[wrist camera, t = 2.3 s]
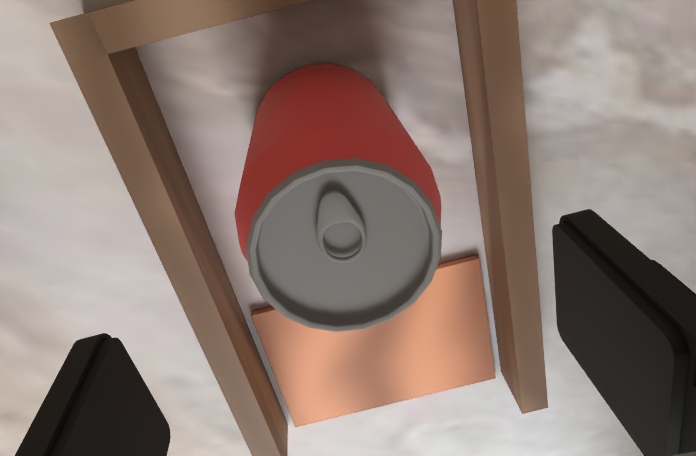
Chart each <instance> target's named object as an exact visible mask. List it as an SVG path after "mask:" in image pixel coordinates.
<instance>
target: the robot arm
mask: <svg viewBox="0 0 696 456" xmlns="http://www.w3.org/2000/svg"><path fill="white" fill-rule="evenodd" d="M552 235H553V255H554V275H555V295H556V314H557V327H558V331H559V334H560V336H561V338H562V340H563V342H564V343H565V345H566V346H567V347H568V349H569V350H570V352H571V353H572V355H573V356H574V357H575V359H576V360H577V362H578V363H579V364H580V366H581V367H582V369H583V370H584V371H585V373H586V374H587V376H588V377H589V379H590V380H591V381H592V383H593V384H594V386H595V387H596V388H597V390H598V391H599V393H600V394H601V395H602V397H603V398H604V400H605V401H606V403H607V404H608V405H609V407H610V408H611V410H612V411H613V412H614V414H615V415H616V417H617V418H618V419H619V421H620V422H621V424H622V425H623V426H624V428H625V429H626V431H627V432H628V434H629V435H630V436H631V438H632V439H633V441H634V442H635V443H636V445H637V446H638V448H639V449H640V450H641V452H642V453H643V455H644V456H696V294H695V293H694V292H693V291H691V290H690V289H689V288H688V287H687V286H685V285H684V284H683V283H682V282H681V281H680V280H678V279H677V278H676V277H675V276H674V275H672V274H671V273H670V272H669V271H668V270H666V269H665V268H664V267H663V266H662V265H661V264H659V263H657V262H656V261H654V260H650V259H649V258H648V257H647V256H646V255H644V254H643V253H642V252H641V251H640V250H638V249H637V248H636V247H635V246H634V245H633V244H631V243H630V242H629V241H628V240H627V239H626V238H624V237H623V236H622V235H621V234H620V233H619V232H617V231H616V230H615V229H614V228H613V227H611V226H610V225H609V224H608V223H607V222H606V221H604V220H603V219H602V218H601V217H600V216H599V215H597V214H596V213H595V212H594V211H592V210H591V209H587V210H583V211H579V212H576V213H572V214H568V215H564V216H562V217H561V218H560V221H559V224H557V225H554V226H553V229H552ZM169 443H170V428H169V425H168V423H167V421H166V419H165V417H164V415H163V414H162V412H161V410H160V408H159V407H158V405H157V403H156V401H155V400H154V398H153V396H152V394H151V393H150V391H149V389H148V387H147V386H146V384H145V382H144V381H143V379H142V377H141V375H140V374H139V372H138V370H137V368H136V367H135V365H134V363H133V361H132V360H131V358H130V356H129V354H128V353H127V351H126V349H125V347H124V346H123V344H122V342H121V341H120V340H119V339H118V338H111V336H110V335H108V334H105V333H103V334H99V335H95V336H91V337H87V338H84V339H80V340H77V341H76V342H75V343H74V345H73V347H72V349H71V350H70V352H69V354H68V356H67V358H66V360H65V362H64V364H63V366H62V367H61V369H60V371H59V373H58V375H57V377H56V379H55V381H54V383H53V384H52V386H51V388H50V390H49V392H48V394H47V396H46V398H45V400H44V401H43V403H42V405H41V407H40V409H39V411H38V413H37V415H36V417H35V418H34V420H33V422H32V424H31V426H30V428H29V430H28V432H27V434H26V436H25V437H24V439H23V441H22V443H21V445H20V447H19V449H18V451H17V453H16V454H15V456H167V451H168V447H169Z"/></svg>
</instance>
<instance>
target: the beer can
mask: <svg viewBox="0 0 696 456" xmlns="http://www.w3.org/2000/svg"><path fill="white" fill-rule="evenodd" d="M235 219H236V225H237V231H238V238H239V243H240V247H241V250H242V253H243V255H244V257H245V259H246V260H247V262H248V265H249V272H250V276H251V277H252V279H253V281H254V283H255V285H256V286H257V288H258V290H259V292H260V294H261V295H262V297H263V298H264V299H265V300H266V301H267V302H268V303H269V304H270V305H271V306H272V307H274V308H275V309H276V310H277V311H278V312H279V313H280V314H281V315H283V316H284V317H286V318H288V319H291V320H293V321H295V322H297V323H299V324H301V325H304V326H306V327H308V328H314V329H320V330H326V331H332V332H342V331H352V330H363V329H367V328H369V327H372V326H375V325H378V324H380V323H383V322H386V321H389V320H391V319H393V318H394V317H395V316H397V315H398V314H400V313H401V312H403V311H404V310H405V309H407V308H408V307H410V306H411V305H413V304H414V303H415V302H416V300H417V299H418V298H419V297H420V295H421V294H422V293H423V292H424V290H425V289H426V288H427V287H428V286H429V284H430V283H431V281H432V279H433V276H434V274H435V271H436V269H437V266H438V263H439V261H440V258H441V239H442V230H441V198H440V194H439V191H438V188H437V185H436V182H435V178H434V175H433V172H432V169H431V167H430V166H429V164H428V163H427V161H426V160H425V158H424V157H423V155H422V154H421V152H420V151H419V149H418V148H417V146H416V145H415V143H414V142H413V140H412V139H411V137H410V136H409V134H408V133H407V131H406V130H405V128H404V127H403V125H402V124H401V122H400V121H399V119H398V118H397V116H396V115H395V113H394V112H393V110H392V109H391V107H390V106H389V104H388V103H387V101H386V100H385V98H384V97H383V96H382V94H381V93H380V92H379V90H378V89H377V88H376V87H375V85H374V84H373V83H372V82H371V81H370V80H368V79H367V78H365V77H364V76H362V75H361V74H359V73H358V72H356V71H354V70H353V69H349V68H345V67H341V66H338V65H334V64H319V65H307V66H305V67H302V68H300V69H297V70H295V71H292V72H290V73H288V74H286V75H285V76H283V77H282V78H281V79H280V80H279V81H278V82H276V83H275V84H274V85H273V86H272V87H271V88H270V89H269V90H268V91H267V93H266V95H265V97H264V98H263V100H262V102H261V104H260V105H259V107H258V109H257V113H256V118H255V122H254V127H253V131H252V135H251V140H250V144H249V148H248V153H247V157H246V162H245V166H244V170H243V175H242V179H241V184H240V189H239V194H238V199H237V204H236V209H235Z"/></svg>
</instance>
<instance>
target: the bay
mask: <svg viewBox="0 0 696 456" xmlns="http://www.w3.org/2000/svg"><path fill="white" fill-rule="evenodd" d="M308 1H312V0H134V1H130V2H126V3H123V4H119V5H115V6H111V7H108V8H104V9H100V10H96V11H92V12H89V13H85V14H81V15H77V16H74V17H70V18H66V19H62V20H59V21H55V22H51V23H50V25H51V27H52V29H53V32H54V34H55V36H56V38H57V40H58V42H59V44H60V47H61V49H62V51H63V53H64V55H65V57H66V59H67V61H68V64H69V66H70V68H71V70H72V72H73V74H74V76H75V79H76V81H77V83H78V85H79V87H80V89H81V91H82V93H83V96H84V98H85V100H86V102H87V104H88V106H89V108H90V111H91V113H92V115H93V117H94V119H95V121H96V123H97V126H98V128H99V130H100V132H101V134H102V136H103V138H104V140H105V143H106V145H107V147H108V149H109V151H110V153H111V155H112V158H113V160H114V162H115V164H116V166H117V168H118V170H119V172H120V175H121V177H122V179H123V181H124V183H125V185H126V187H127V190H128V192H129V194H130V196H131V198H132V200H133V202H134V204H135V207H136V209H137V211H138V213H139V215H140V217H141V219H142V222H143V224H144V226H145V228H146V230H147V232H148V234H149V237H150V239H151V241H152V243H153V245H154V247H155V249H156V251H157V254H158V256H159V258H160V260H161V262H162V264H163V266H164V269H165V271H166V273H167V275H168V277H169V279H170V281H171V283H172V286H173V288H174V290H175V292H176V294H177V296H178V298H179V301H180V303H181V305H182V307H183V309H184V311H185V313H186V315H187V318H188V320H189V322H190V324H191V326H192V328H193V330H194V333H195V335H196V337H197V339H198V341H199V343H200V345H201V348H202V350H203V352H204V354H205V356H206V358H207V360H208V362H209V365H210V367H211V369H212V371H213V373H214V375H215V377H216V380H217V382H218V384H219V386H220V388H221V390H222V392H223V394H224V397H225V399H226V401H227V403H228V405H229V407H230V409H231V412H232V414H233V416H234V418H235V420H236V422H237V424H238V426H239V429H240V431H241V433H242V435H243V437H244V439H245V441H246V444H247V446H248V448H249V450H250V452H251V454H252V456H287V435H288V424H287V422H286V419H285V417H284V414H283V412H282V409H281V407H280V404H279V402H278V399H277V397H276V394H275V392H274V389H273V387H272V385H271V382H270V380H269V377H268V375H267V372H266V370H265V367H264V365H263V362H262V360H261V357H260V355H259V353H258V350H257V348H256V345H255V343H254V340H253V338H252V335H251V333H250V330H249V328H248V325H247V323H246V320H245V318H244V316H243V313H242V311H241V308H240V306H239V303H238V301H237V298H236V296H235V293H234V291H233V288H232V286H231V284H230V281H229V279H228V276H227V274H226V271H225V269H224V266H223V264H222V261H221V259H220V256H219V254H218V251H217V249H216V247H215V244H214V242H213V239H212V237H211V234H210V232H209V229H208V227H207V224H206V222H205V219H204V217H203V215H202V212H201V210H200V207H199V205H198V202H197V200H196V197H195V195H194V192H193V190H192V187H191V185H190V182H189V180H188V178H187V175H186V173H185V170H184V168H183V165H182V163H181V160H180V158H179V155H178V153H177V150H176V148H175V146H174V143H173V141H172V138H171V136H170V133H169V131H168V128H167V126H166V123H165V121H164V118H163V116H162V113H161V111H160V109H159V106H158V104H157V101H156V99H155V96H154V94H153V91H152V89H151V86H150V84H149V81H148V79H147V76H146V74H145V72H144V69H143V67H142V64H141V62H140V59H139V57H138V54H137V52H136V49H135V47H137V46H141V45H144V44H148V43H152V42H156V41H160V40H163V39H167V38H171V37H175V36H179V35H182V34H186V33H190V32H194V31H198V30H201V29H205V28H209V27H213V26H217V25H220V24H224V23H228V22H232V21H236V20H239V19H243V18H247V17H251V16H255V15H258V14H262V13H266V12H270V11H274V10H277V9H281V8H285V7H289V6H293V5H296V4H300V3H304V2H308ZM453 5H454V13H455V21H456V28H457V36H458V44H459V51H460V59H461V67H462V74H463V82H464V90H465V97H466V105H467V113H468V121H469V128H470V136H471V144H472V151H473V159H474V167H475V174H476V182H477V190H478V197H479V205H480V213H481V220H482V228H483V236H484V243H485V251H486V259H487V266H488V274H489V282H490V290H491V297H492V305H493V313H494V320H495V328H496V336H497V343H498V351H499V359H500V366H501V372H502V374H503V376H504V378H505V380H506V382H507V384H508V386H509V388H510V390H511V392H512V394H513V396H514V398H515V400H516V402H517V404H518V406H519V408H520V410H521V412H522V414H524V413H528V412H532V411H536V410H540V409H544V408H548V401H547V389H546V376H545V363H544V351H543V338H542V325H541V312H540V300H539V287H538V274H537V261H536V249H535V236H534V223H533V211H532V198H531V185H530V172H529V160H528V147H527V134H526V122H525V109H524V96H523V83H522V71H521V58H520V45H519V33H518V20H517V7H516V0H453ZM251 317H252V320H253V322H254V325H255V327H256V330H257V333H258V335H259V338H260V340H261V343H262V345H263V348H264V350H265V353H266V355H267V358H268V360H269V363H270V365H271V368H272V370H273V373H274V375H275V378H276V380H277V383H278V385H279V388H280V390H281V393H282V395H283V398H284V400H285V403H286V405H287V408H288V410H289V413H290V415H291V418H292V421H293V423H294V426H295V427H298V426H302V425H307V424H311V423H315V422H319V421H323V420H327V419H331V418H335V417H339V416H343V415H347V414H351V413H356V412H360V411H364V410H368V409H372V408H376V407H380V406H384V405H388V404H392V403H396V402H400V401H404V400H409V399H413V398H417V397H421V396H425V395H429V394H433V393H437V392H441V391H445V390H449V389H453V388H457V387H462V386H466V385H470V384H474V383H478V382H482V381H486V380H490V379H494V378H496V377H495V370H494V362H493V355H492V348H491V341H490V333H489V326H488V319H487V312H486V304H485V297H484V290H483V283H482V275H481V268H480V261H479V258H478V256H477V255H475V256H471V257H467V258H463V259H459V260H455V261H451V262H447V263H443V264H439V265H438V266H437V269H436V271H435V274H434V276H433V279H432V281H431V283H430V284H429V286H428V287H427V288H426V289H425V290H424V292H423V293H422V294H421V295H420V297H419V298H418V299H417V300H416V302H415V303H414V304H413V305H411V306H410V307H408V308H407V309H405V310H404V311H403V312H401V313H400V314H398V315H397V316H395V317H394V318H393V319H391V320H389V321H386V322H383V323H380V324H378V325H375V326H372V327H369V328H367V329H363V330H352V331H342V332H332V331H326V330H320V329H314V328H308V327H306V326H304V325H301V324H299V323H297V322H295V321H293V320H291V319H288V318H286V317H284V316H283V315H281V314H280V313H279V312H278V311H277V310H276V309H275V308H274V307H268V308H264V309H260V310H256V311H252V312H251Z"/></svg>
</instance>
